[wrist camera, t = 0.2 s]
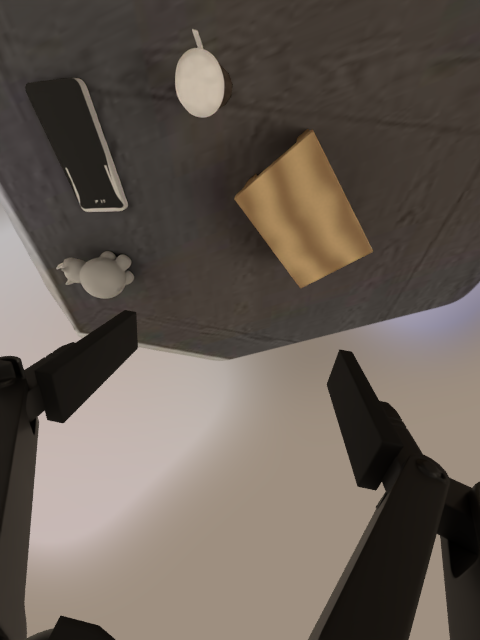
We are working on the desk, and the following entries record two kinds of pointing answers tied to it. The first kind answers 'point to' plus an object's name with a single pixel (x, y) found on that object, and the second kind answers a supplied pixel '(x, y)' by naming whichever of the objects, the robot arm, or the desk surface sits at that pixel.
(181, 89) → the milkshake
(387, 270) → the desk surface
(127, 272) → the round bodied animal figurine
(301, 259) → the stool
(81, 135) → the smartphone
